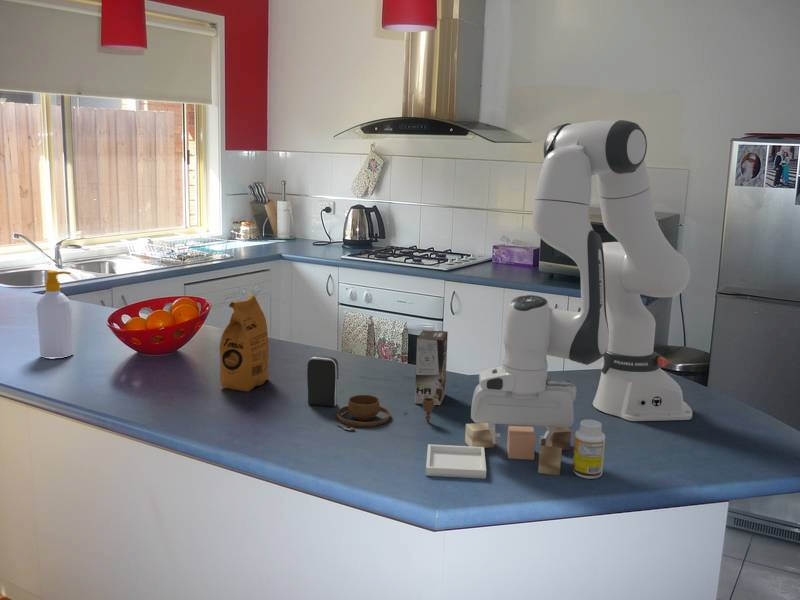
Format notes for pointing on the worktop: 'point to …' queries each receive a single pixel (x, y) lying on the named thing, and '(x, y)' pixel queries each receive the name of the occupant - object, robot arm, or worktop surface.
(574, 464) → the supplement bottle
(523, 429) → the terracotta block
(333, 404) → the battery charger
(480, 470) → the tray
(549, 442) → the walnut block
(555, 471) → the oak block
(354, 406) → the place setting
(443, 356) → the coffee box
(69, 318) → the soap bottle
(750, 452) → the worktop surface
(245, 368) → the coffee package
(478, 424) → the beech block
